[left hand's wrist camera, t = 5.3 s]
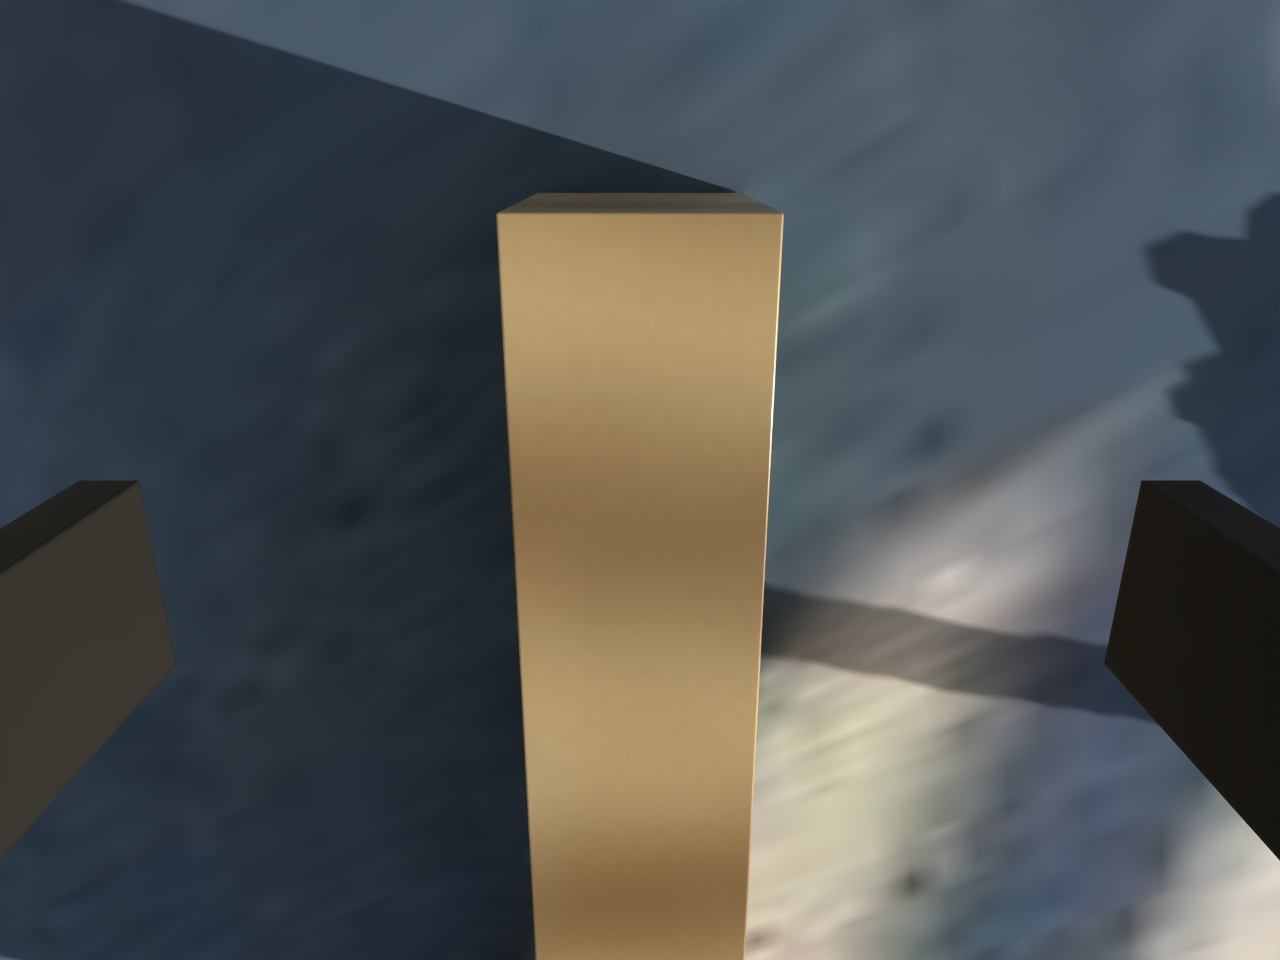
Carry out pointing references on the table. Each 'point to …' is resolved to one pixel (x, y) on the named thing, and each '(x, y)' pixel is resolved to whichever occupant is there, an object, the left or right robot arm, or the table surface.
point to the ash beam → (639, 557)
